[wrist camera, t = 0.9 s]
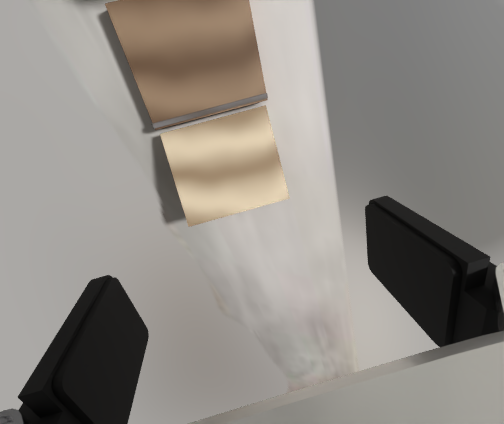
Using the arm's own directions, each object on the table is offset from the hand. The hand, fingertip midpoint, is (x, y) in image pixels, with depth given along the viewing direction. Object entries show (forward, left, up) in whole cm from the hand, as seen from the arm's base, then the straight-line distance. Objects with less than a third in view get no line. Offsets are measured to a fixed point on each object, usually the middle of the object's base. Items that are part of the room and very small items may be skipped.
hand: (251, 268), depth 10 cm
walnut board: (-8, 0, -26) cm, 27 cm away
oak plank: (+4, 0, -24) cm, 24 cm away
